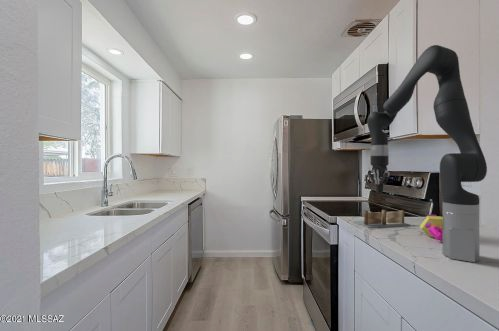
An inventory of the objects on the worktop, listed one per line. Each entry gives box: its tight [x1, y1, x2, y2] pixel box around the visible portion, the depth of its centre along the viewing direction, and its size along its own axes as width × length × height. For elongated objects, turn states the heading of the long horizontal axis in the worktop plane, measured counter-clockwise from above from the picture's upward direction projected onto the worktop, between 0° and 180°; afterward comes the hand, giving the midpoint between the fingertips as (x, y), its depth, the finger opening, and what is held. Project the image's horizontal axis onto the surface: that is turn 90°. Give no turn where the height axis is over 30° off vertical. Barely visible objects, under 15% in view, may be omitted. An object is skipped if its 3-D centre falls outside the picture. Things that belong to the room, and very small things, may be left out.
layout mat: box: [352, 219, 411, 229], centre depth 131 cm, size 23×12×1 cm, turn 101°
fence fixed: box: [381, 209, 405, 225], centre depth 129 cm, size 12×2×8 cm, turn 101°
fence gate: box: [363, 210, 382, 225], centre depth 127 cm, size 9×2×6 cm, turn 101°
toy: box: [419, 214, 443, 243], centre depth 105 cm, size 10×18×10 cm, turn 161°
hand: (379, 192), depth 121 cm, fingers closed
